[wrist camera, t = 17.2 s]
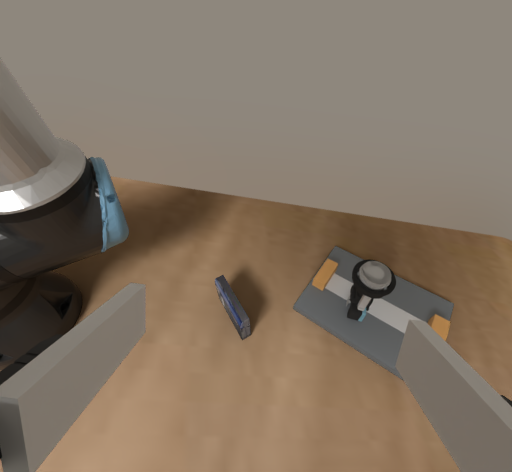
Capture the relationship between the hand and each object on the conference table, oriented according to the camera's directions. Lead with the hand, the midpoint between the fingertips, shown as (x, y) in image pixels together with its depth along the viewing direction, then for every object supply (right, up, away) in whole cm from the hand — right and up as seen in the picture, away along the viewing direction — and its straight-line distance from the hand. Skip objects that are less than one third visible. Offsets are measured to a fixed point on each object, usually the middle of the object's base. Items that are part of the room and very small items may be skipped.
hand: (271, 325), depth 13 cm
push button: (+15, -6, +28) cm, 32 cm away
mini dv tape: (-4, -8, +28) cm, 30 cm away
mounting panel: (+18, -7, +28) cm, 34 cm away
